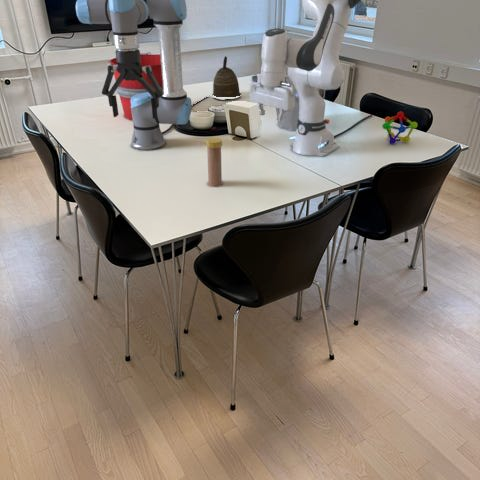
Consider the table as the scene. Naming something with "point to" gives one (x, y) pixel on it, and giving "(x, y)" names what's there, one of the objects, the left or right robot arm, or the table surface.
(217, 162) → the jar
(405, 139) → the educational toy
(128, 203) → the table surface
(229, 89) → the bell
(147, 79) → the bucket
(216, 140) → the lid
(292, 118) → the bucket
